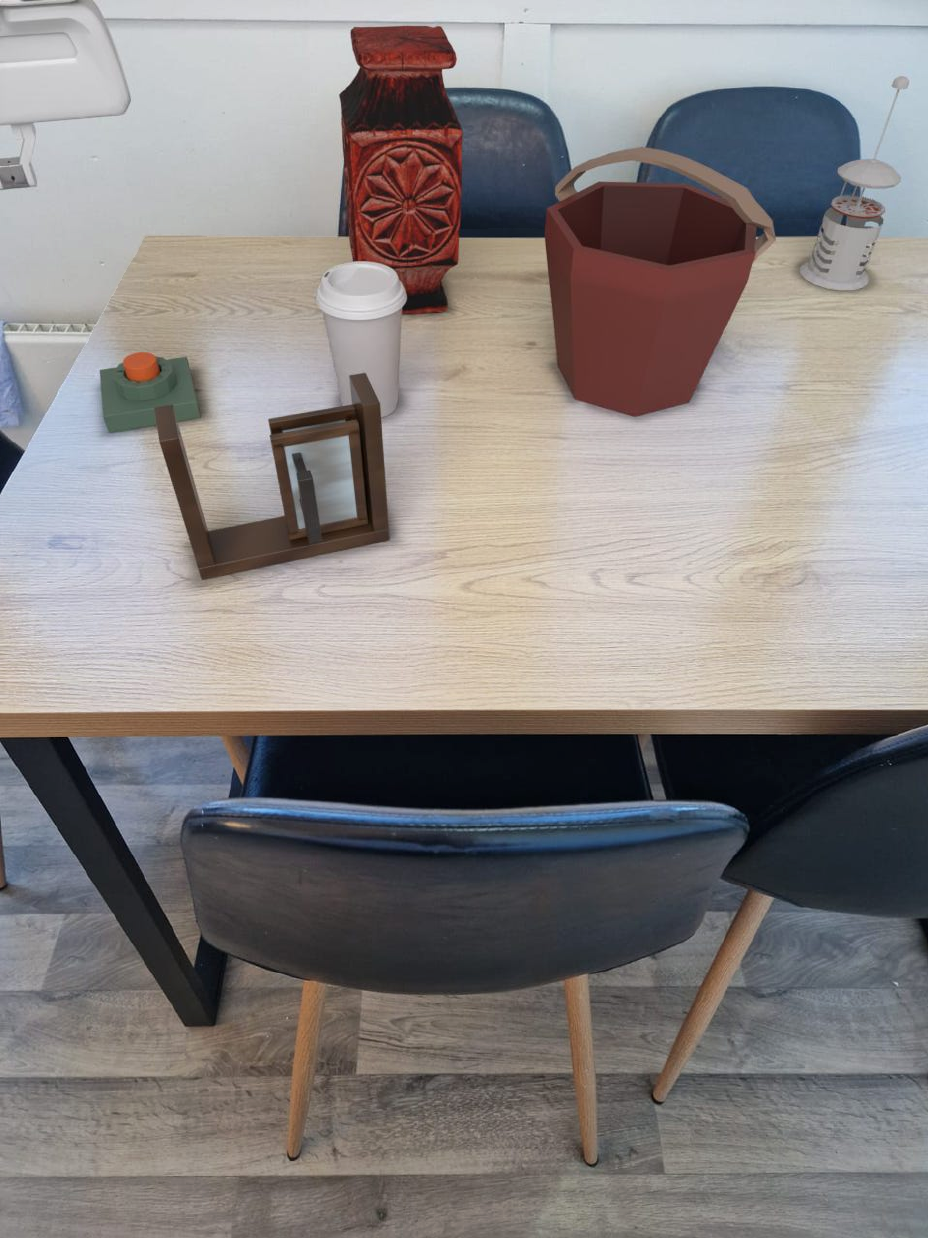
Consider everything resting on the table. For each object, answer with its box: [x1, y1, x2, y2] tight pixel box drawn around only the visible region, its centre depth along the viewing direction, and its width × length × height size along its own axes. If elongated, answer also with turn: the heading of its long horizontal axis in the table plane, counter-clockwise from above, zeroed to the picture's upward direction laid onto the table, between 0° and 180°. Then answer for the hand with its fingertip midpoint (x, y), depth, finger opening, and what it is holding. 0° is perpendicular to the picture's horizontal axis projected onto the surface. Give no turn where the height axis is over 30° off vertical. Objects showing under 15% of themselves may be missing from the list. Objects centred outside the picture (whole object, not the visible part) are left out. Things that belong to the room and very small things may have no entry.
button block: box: [99, 356, 202, 434], centre depth 95 cm, size 10×10×4 cm
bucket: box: [544, 146, 777, 418], centre depth 92 cm, size 24×22×25 cm
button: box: [122, 351, 160, 382], centre depth 93 cm, size 4×4×2 cm
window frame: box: [154, 373, 390, 581], centre depth 75 cm, size 18×5×16 cm, turn 109°
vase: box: [338, 25, 464, 316], centre depth 104 cm, size 14×14×30 cm
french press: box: [799, 75, 910, 291], centre depth 113 cm, size 10×12×25 cm
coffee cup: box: [315, 261, 407, 419], centre depth 91 cm, size 10×10×15 cm
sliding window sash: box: [269, 420, 368, 544], centre depth 74 cm, size 8×5×11 cm
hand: (17, 185), depth 66 cm, fingers closed
